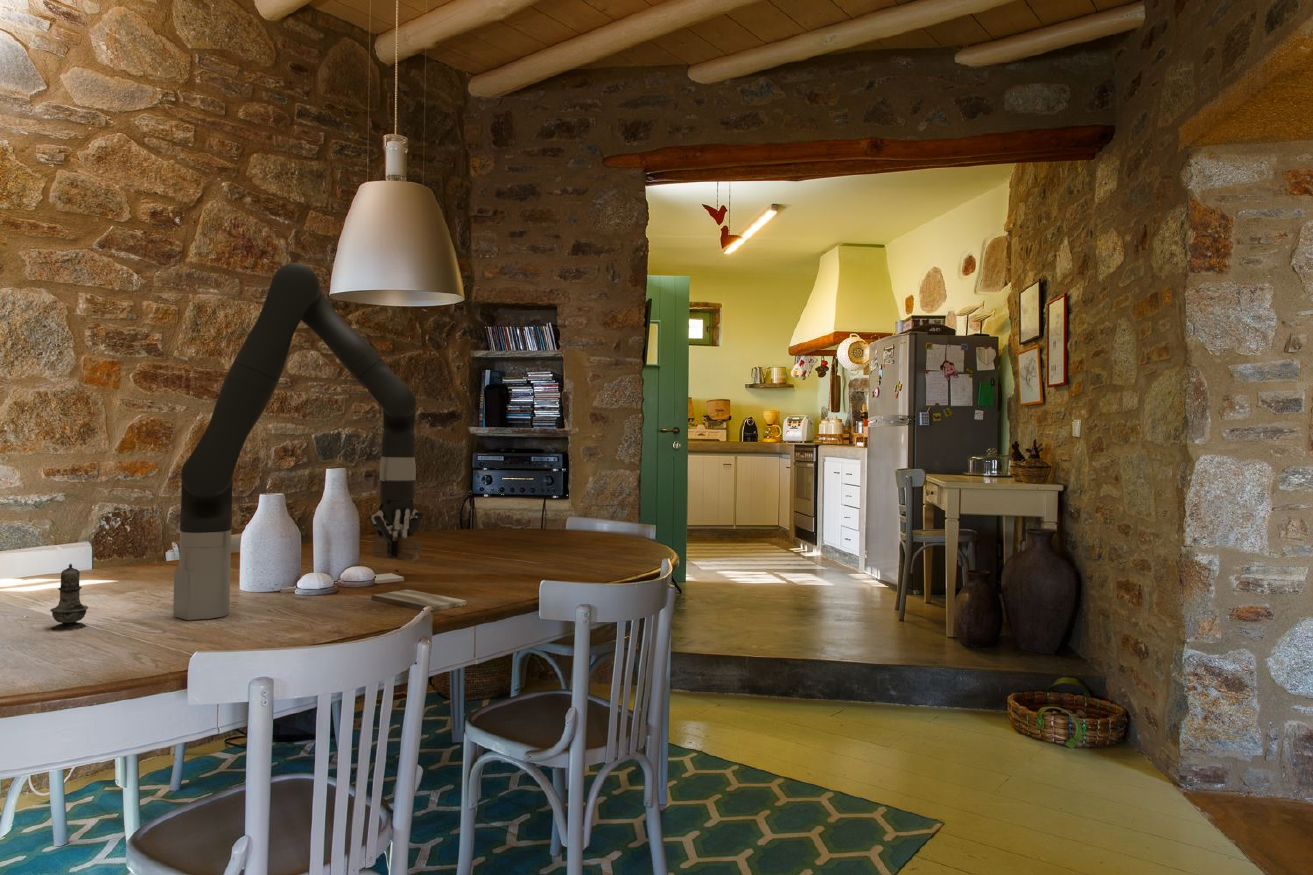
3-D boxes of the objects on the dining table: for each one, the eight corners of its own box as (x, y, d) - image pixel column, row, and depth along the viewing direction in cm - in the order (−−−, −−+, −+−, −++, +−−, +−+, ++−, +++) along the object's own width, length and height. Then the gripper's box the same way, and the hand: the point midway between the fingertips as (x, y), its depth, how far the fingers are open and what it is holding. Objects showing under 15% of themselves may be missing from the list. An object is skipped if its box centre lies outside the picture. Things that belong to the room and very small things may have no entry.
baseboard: (267, 588, 206) (281, 595, 199) (267, 577, 206) (281, 583, 199) (387, 577, 226) (404, 583, 219) (387, 566, 226) (404, 572, 219)
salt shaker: (55, 624, 162) (56, 561, 162) (91, 623, 164) (93, 560, 164) (45, 631, 156) (47, 566, 156) (83, 630, 159) (84, 565, 159)
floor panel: (431, 611, 182) (431, 607, 182) (371, 599, 193) (371, 595, 193) (466, 604, 190) (466, 600, 190) (406, 593, 202) (407, 589, 202)
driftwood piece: (367, 557, 189) (366, 535, 189) (375, 556, 191) (374, 533, 191) (416, 564, 181) (415, 541, 181) (424, 562, 183) (423, 539, 183)
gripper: (411, 476, 194) (409, 552, 194) (360, 477, 183) (358, 559, 183) (433, 477, 190) (431, 556, 190) (383, 479, 179) (381, 562, 179)
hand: (395, 557), depth 186 cm, fingers closed on driftwood piece, 1 cm apart
